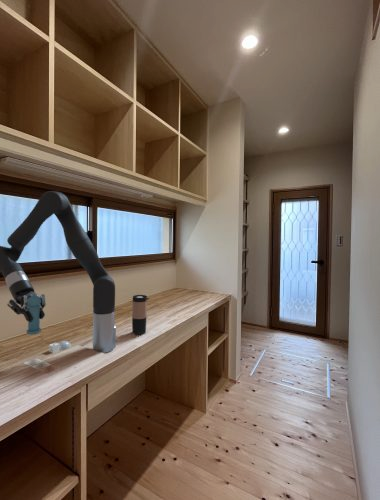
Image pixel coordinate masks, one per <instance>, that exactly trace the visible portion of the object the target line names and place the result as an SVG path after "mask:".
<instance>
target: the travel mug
mask: <svg viewBox="0 0 380 500" xmlns="http://www.w3.org/2000/svg"><path fill="white" fill-rule="evenodd" d="M147 298H148V296H147V295H146V294H134V295H132V314H131V317H132V318H131V320H132V321H131V323H132V324H131V328H132V331H131V333H132V335H136V336H140V335H145V334H146V332H147V316H148V315H147V311H148V310H147V306H148V304H147V301H148V299H147Z"/></svg>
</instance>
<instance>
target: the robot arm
mask: <svg viewBox="0 0 380 500" xmlns="http://www.w3.org/2000/svg"><path fill="white" fill-rule="evenodd" d="M53 215H54V216H55V217H56V218H57V220H58V222H59V223H60V225H61V228H62V230H63V234H64V238H65V242H66V244H67V247H68V248H69V250H70V253H72V256H74V259H75V260H76V261H77V262H78V264H80V265H81V266H82V268H83V269H84V270H85V272H86V273H87V275H88V276H89V278H90V281H91V283H92V285H93V288H92V289H93V290H92V293H93V294H92V308H93V311H92V312H93V313H92V315H93V316H92V327H93V328H92V350H93V351H95V352H99V353H102V354H106V353H109V352H111V351H113V350H114V349H115V348H116V346H117V345H116V341H117V339H116V337H117V334H116V333H117V327H116V326H115V312H116V311H115V310H116V309H115V308H116V284H115V280H113V278H112V277H111V275H110V274H109V273H108V272H107V270H106V269H105V267H104V265H103V264H102V262H101V259H100V257H99V255H98V252H97V250H96V248H95V246H94V244H93V243H92V240H91V239H90V237H89V236H88V233H86V231H85V229H84V228H83V226H82V224H81V223H80V221H79V219H78V217H77V216H76V214H75V211H74V209H73V207H72V204H71V202H70V200H69V198H68V196H67V195H65V194H64V193H63V192H60V191H55V190H49V191H46V192H44V193H43V194H42V195H41V196H40V197H39V199H38V201H37V202H36V204H35V205H34V207H33V208H32V210H31V211H30V213H29V214H28V215H27V217H25V219H24V220H23V222H21V223H20V225H19V226H18V227H16V229H15V230H14V231H13V232H12V233H11V234H10V235H9V236H8V237H7V244H8V245H9V246H10V247H7V246H1V245H0V272H1V274H2V276H3V278H4V280H5V282H6V287H7V289H8V290H9V292H10V294H11V296H12V298H13V299H10V300H9V301H8V303H7V304H6V305H7V307H8V308H9V309H11V310H12V311H13V312H14V313H15V314H16V315H23V317H24V319H25V320H26V321H27V323H28V322H31V321H32V320H33V317H32V315H31V313H30V312H29V311H28V304H27V300H28V298H29V297H30V296H33V295H36V296H38V297H40V299H41V302H40V304H39V305H40V320H43V319H44V318H45V316H46V314H45V312H44V310H43V309H44V308H45V307H46V305H47V304H46V295H45V294H44V293H42V294H40V295H39V294H37V293H36V291H35V289H34V286H33V284H32V283H31V281H30V278H29V277H28V276H27V274H26V273H25V271H24V269H23V268H22V265H21V264H20V263H19V262H17V261H19V259H20V258H21V255H22V253H23V251H24V249H25V248H26V246H27V245H28V244H29V243H30V242H31V241H32V240H33V239H34V238H35V237H36V235H37V234H38V232H39V230H40V229H41V227H42V225H43V223H45V222H46V221H47V220H48V219H49V218H50V217H52V216H53Z"/></svg>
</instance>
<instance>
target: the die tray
mask: <svg viewBox="0 0 380 500" xmlns="http://www.w3.org/2000/svg"><path fill="white" fill-rule="evenodd" d="M71 347H72V345H71V343H70V342H69V341H67V340H62V341H61V342H54V343H50V344H48V352H49V353H52V354H54V353H57V352H59V351H65V350H68V349H71Z"/></svg>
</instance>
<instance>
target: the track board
mask: <svg viewBox="0 0 380 500" xmlns="http://www.w3.org/2000/svg"><path fill="white" fill-rule="evenodd" d="M23 364H25V365H27V366H29V367H31V368H33V369H36V370H38V371H41V372H43V373H45V374H47V375H49V374H51V373H52V372H55V371H56V370H59V369H60V367H59V366H56V365H53V364H51V363H49V362H46V361H44V360H41V359H39V358H33V359H31V360H28V361H25V362H24V363H23Z"/></svg>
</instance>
